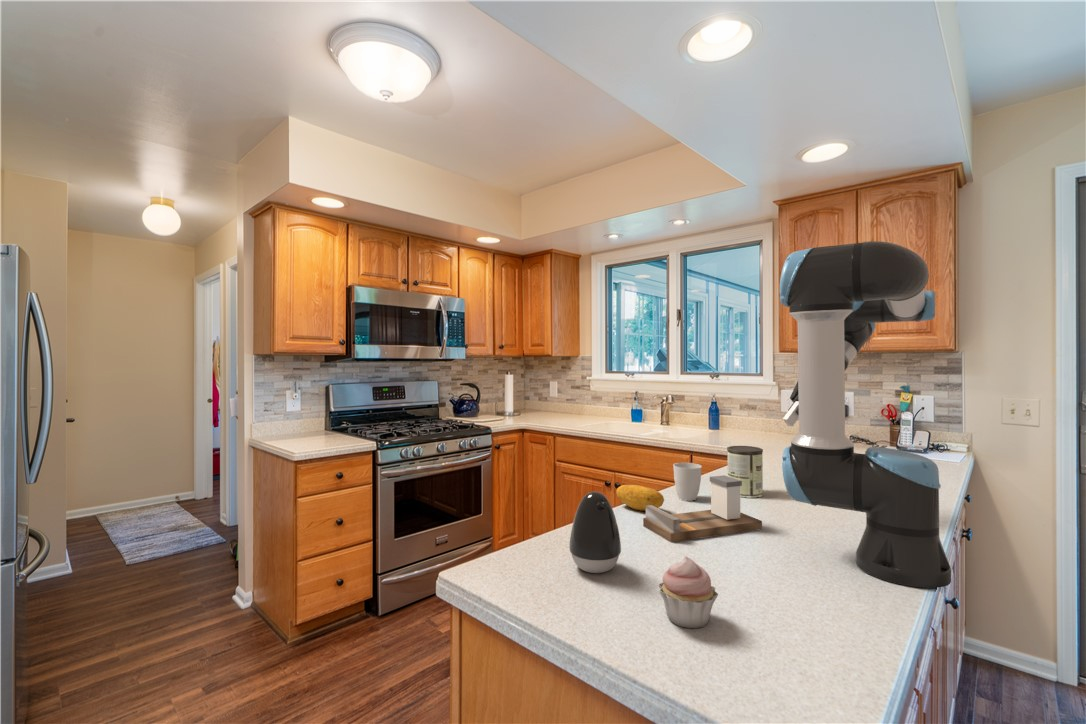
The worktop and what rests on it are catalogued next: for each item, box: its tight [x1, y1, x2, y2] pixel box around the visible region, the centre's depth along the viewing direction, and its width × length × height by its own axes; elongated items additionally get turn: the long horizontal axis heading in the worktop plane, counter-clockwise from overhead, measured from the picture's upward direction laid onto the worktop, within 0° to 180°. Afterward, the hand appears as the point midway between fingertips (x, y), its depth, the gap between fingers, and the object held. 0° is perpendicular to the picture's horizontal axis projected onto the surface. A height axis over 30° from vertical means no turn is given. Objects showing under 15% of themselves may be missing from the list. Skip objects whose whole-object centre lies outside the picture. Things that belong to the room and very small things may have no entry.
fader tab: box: [709, 475, 742, 520], centre depth 127 cm, size 5×6×9 cm
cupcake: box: [657, 555, 719, 629], centre depth 81 cm, size 9×9×10 cm
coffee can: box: [726, 445, 764, 499], centre depth 156 cm, size 10×10×14 cm
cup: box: [672, 462, 703, 502], centre depth 150 cm, size 8×8×10 cm
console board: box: [642, 505, 763, 543], centre depth 125 cm, size 26×12×5 cm, turn 110°
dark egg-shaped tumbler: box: [569, 491, 622, 574], centre depth 100 cm, size 10×10×15 cm
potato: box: [615, 484, 665, 512], centre depth 140 cm, size 8×14×7 cm, turn 44°
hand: (787, 422), depth 134 cm, fingers closed
